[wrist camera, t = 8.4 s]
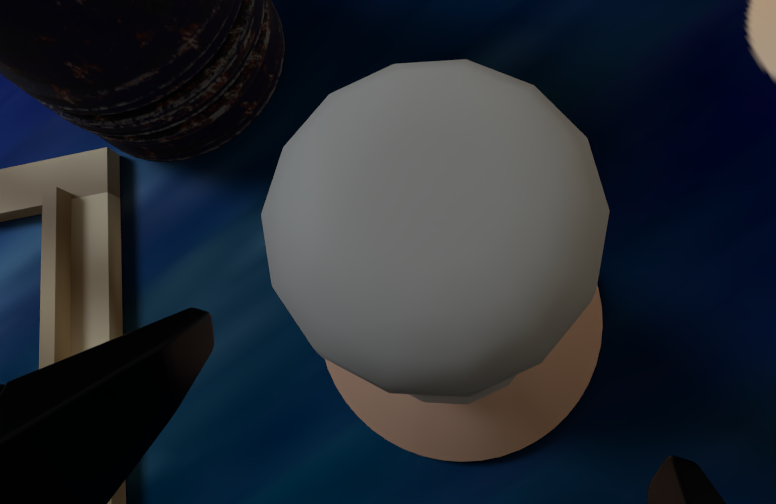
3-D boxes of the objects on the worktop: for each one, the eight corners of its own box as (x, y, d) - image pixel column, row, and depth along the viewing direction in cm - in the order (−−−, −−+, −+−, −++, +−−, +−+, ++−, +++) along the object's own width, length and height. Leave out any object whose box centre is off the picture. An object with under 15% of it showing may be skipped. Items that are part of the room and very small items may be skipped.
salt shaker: (339, 349, 18) (76, 312, 6) (411, 212, 19) (317, -88, 7) (488, 430, 17) (572, 611, 4) (559, 279, 18) (798, 68, 5)
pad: (632, 438, 17) (636, 440, 16) (338, 477, 18) (335, 479, 17) (563, 160, 19) (565, 156, 19) (307, 208, 20) (305, 205, 20)
